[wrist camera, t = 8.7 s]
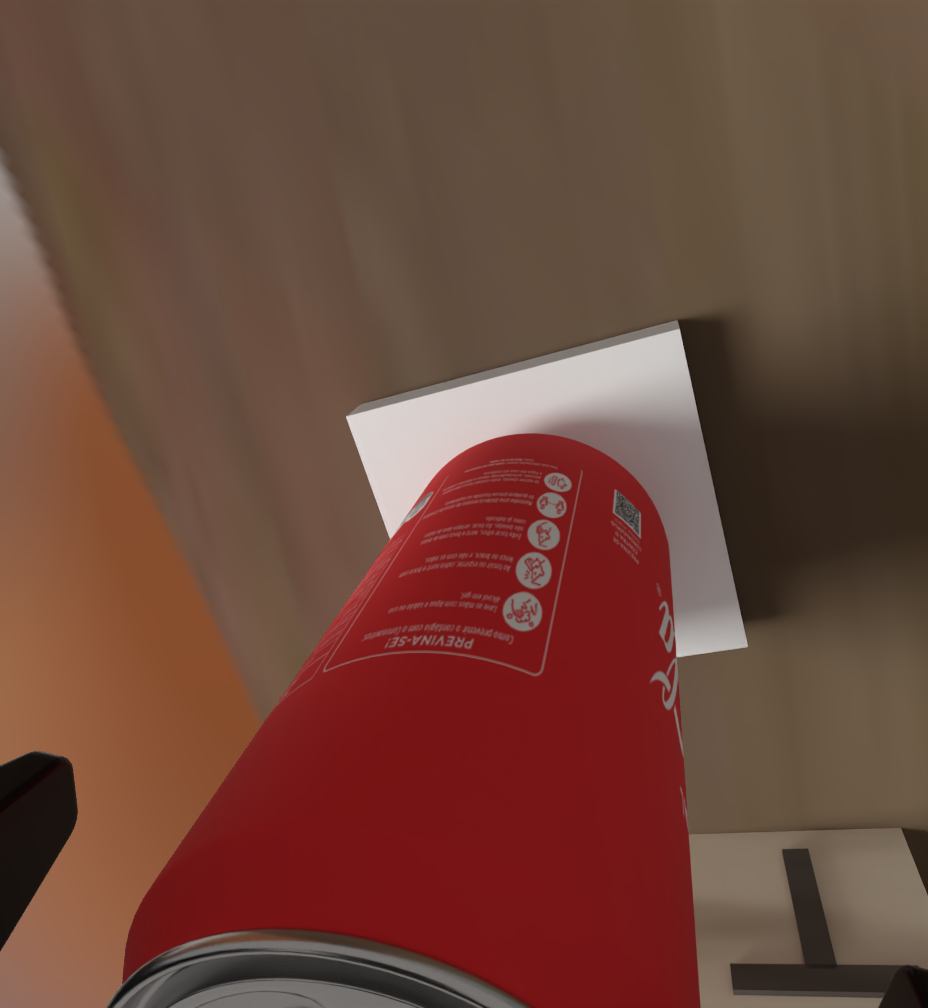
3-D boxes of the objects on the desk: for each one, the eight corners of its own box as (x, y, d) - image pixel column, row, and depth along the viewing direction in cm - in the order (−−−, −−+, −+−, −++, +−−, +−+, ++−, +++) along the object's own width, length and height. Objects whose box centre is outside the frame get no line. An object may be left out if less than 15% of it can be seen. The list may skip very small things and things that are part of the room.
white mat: (742, 623, 18) (748, 646, 17) (453, 667, 20) (444, 690, 19) (677, 320, 16) (679, 328, 15) (360, 404, 18) (345, 416, 17)
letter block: (910, 975, 21) (988, 1208, 16) (712, 972, 22) (731, 1186, 18) (899, 820, 19) (982, 1029, 14) (686, 827, 21) (699, 1021, 16)
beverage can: (543, 363, 16) (319, 798, 5) (720, 545, 16) (873, 1286, 5) (377, 523, 18) (-40, 1074, 7) (539, 678, 18) (390, 1402, 8)
